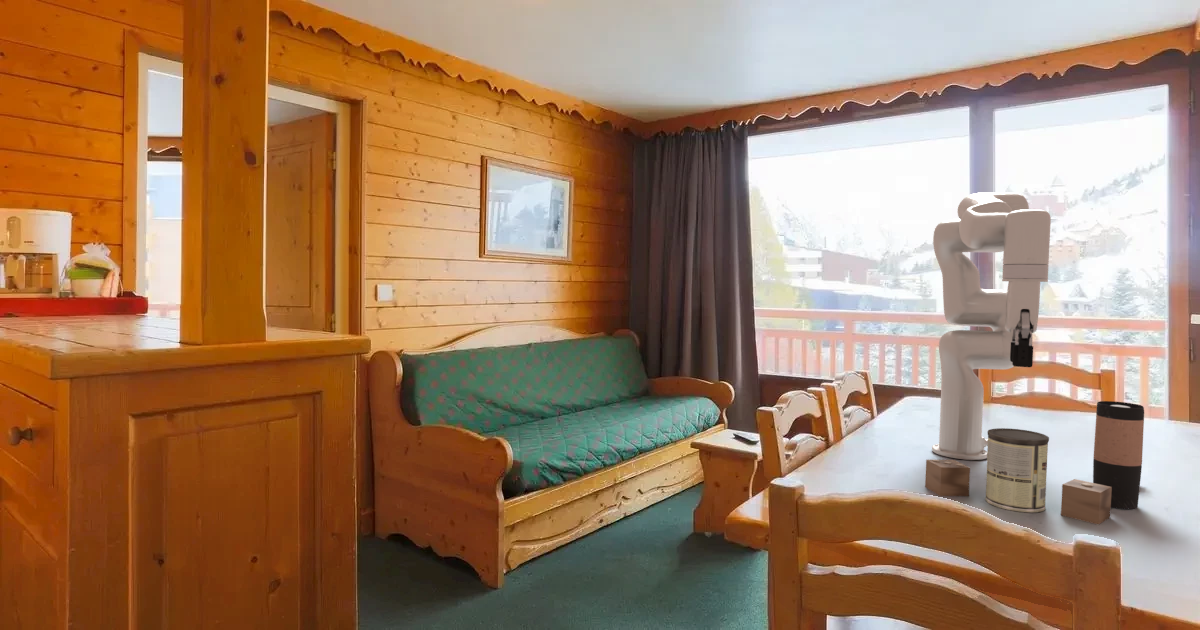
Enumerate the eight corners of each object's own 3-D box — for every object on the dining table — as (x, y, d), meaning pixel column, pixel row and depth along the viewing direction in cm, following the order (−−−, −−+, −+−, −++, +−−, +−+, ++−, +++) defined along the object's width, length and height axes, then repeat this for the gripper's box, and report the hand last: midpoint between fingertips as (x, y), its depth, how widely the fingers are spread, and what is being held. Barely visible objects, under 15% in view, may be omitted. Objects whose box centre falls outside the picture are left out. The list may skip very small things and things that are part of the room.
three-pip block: (952, 487, 144) (954, 458, 144) (968, 496, 138) (970, 466, 138) (925, 487, 144) (926, 458, 144) (940, 496, 138) (941, 466, 138)
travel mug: (1081, 497, 138) (1086, 401, 137) (1116, 497, 138) (1121, 400, 137) (1113, 510, 130) (1118, 408, 129) (1149, 510, 131) (1155, 408, 130)
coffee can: (982, 492, 140) (985, 425, 139) (1040, 500, 136) (1044, 431, 135) (987, 507, 131) (990, 436, 130) (1050, 516, 127) (1053, 442, 126)
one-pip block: (1072, 509, 131) (1074, 478, 131) (1110, 518, 126) (1111, 485, 126) (1060, 515, 127) (1062, 483, 127) (1098, 525, 123) (1100, 491, 122)
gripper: (1000, 274, 140) (996, 358, 141) (1004, 273, 125) (1000, 367, 126) (1043, 275, 137) (1039, 361, 138) (1053, 273, 122) (1048, 370, 122)
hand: (1020, 363), depth 132 cm, fingers open, 7 cm apart
